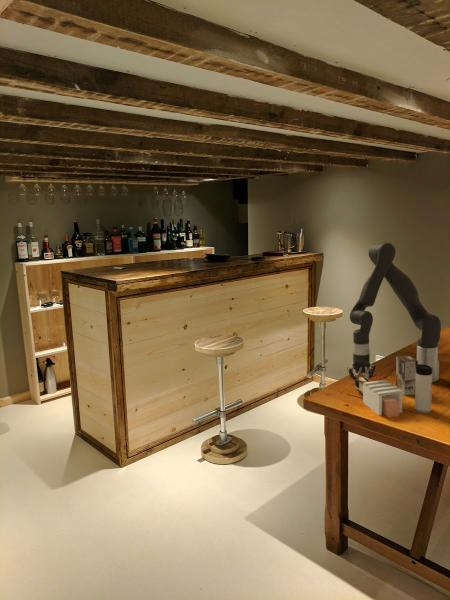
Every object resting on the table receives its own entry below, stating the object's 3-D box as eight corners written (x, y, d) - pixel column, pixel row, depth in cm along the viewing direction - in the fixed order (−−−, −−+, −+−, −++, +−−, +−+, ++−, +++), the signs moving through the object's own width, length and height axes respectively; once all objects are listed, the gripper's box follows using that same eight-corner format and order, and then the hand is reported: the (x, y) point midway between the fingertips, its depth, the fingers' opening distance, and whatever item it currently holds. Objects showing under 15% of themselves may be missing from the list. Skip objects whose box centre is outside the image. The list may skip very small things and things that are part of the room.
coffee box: (417, 394, 205) (418, 360, 202) (404, 395, 205) (404, 361, 202) (408, 387, 214) (409, 354, 211) (395, 388, 214) (395, 355, 211)
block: (392, 410, 191) (393, 397, 190) (399, 415, 186) (399, 402, 185) (382, 412, 190) (382, 399, 189) (388, 417, 185) (388, 403, 184)
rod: (361, 386, 216) (361, 377, 215) (390, 409, 191) (390, 399, 190) (355, 386, 216) (355, 378, 215) (382, 410, 190) (382, 400, 189)
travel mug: (411, 408, 192) (412, 363, 188) (426, 406, 193) (427, 362, 189) (418, 414, 186) (419, 368, 182) (434, 412, 186) (435, 367, 183)
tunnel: (384, 399, 202) (384, 379, 200) (402, 412, 189) (402, 391, 187) (363, 402, 201) (363, 382, 199) (379, 415, 187) (379, 394, 185)
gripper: (371, 347, 214) (371, 382, 217) (343, 351, 212) (344, 385, 215) (379, 352, 207) (379, 387, 210) (350, 356, 205) (350, 391, 208)
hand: (361, 386), depth 213 cm, fingers closed on rod, 3 cm apart
